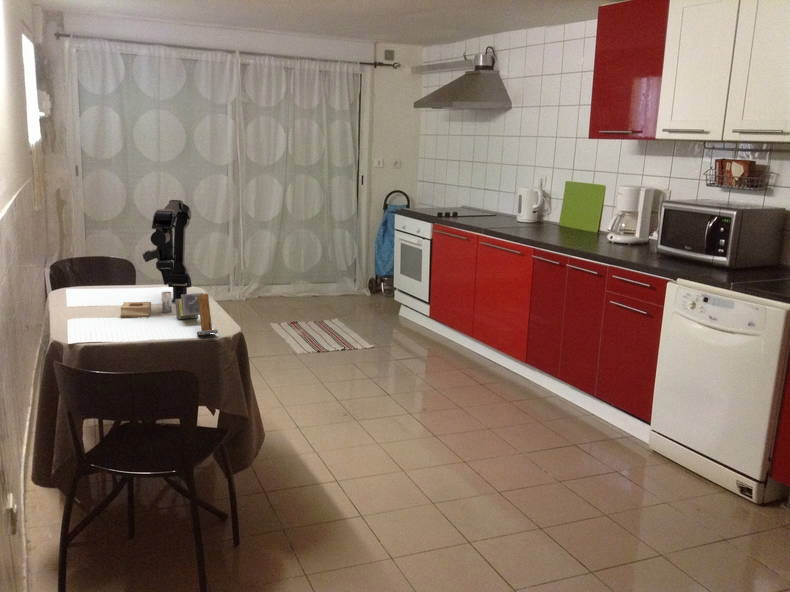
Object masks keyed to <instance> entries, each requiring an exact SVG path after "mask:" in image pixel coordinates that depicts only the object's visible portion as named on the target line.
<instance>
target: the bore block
mask: <svg viewBox="0 0 790 592" xmlns="http://www.w3.org/2000/svg"><path fill="white" fill-rule="evenodd" d="M150 313H151V314H152V302H151V301H135V302H134V301H126V302H125V301H124V302H123V303H122V305H121V307H120V318H121V319H142V318H141V317H149V318H150V316H151V314H150ZM138 317H140V318H138Z"/></svg>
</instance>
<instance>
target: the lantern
mask: <svg viewBox="0 0 790 592" xmlns="http://www.w3.org/2000/svg"><path fill="white" fill-rule="evenodd" d="M209 298H210V297H209V294H208V293H203V292H201V293H200V292H199V293H197V292H196V293H187V294H182V295H181V299H175V302H174V304H175V313H176V320H177V319H179V320H187V319H189V318H191V319H198V318H200V327H201V330H200V331H197V332H196V336H197V335H200V336H202V335H201V334H210V333H215V334H214V335H217V334H218V333H219V330H218V329H213V323H212V315H211V308H210V307H211V306H210V301H209Z"/></svg>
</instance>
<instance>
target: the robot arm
mask: <svg viewBox="0 0 790 592" xmlns="http://www.w3.org/2000/svg"><path fill="white" fill-rule="evenodd" d="M191 219H192V211H191V208H190V207H189V206H188V205H186V204H185V203H184V201H183V200H182V199H181V200H180V199H170V200H169V201H168V203H167V204H166V206H165V207H164V208H161V209H157V210H156V211H155V212H154V213H153V217H152V223H151V229H152V230H155V231H154V232H153V233H152V234H151V235H150V243H151V244H152V245H154V246H156V248H155V249H152V250H150V249H149V250H147V251H145V252H143V253H142V258H143V259H144V262H145V263H149V262H150V261H152V260H153V261H154V260H155V259H156V260H157V261H156V262H155V268H156V270H157V271H159V272H160V274H161V277H162V280H163V285H167V286H168V288H172V297H171V301H172V303H175V299H181V295H182V294H188V289H189V288H192V278H191V275H190V273H189V269H188V267H187V265H186V264H185V261H186V259H185V254H186V229H187V228H188V227H189V225H190V223H191V221H190V220H191Z"/></svg>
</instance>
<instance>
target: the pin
mask: <svg viewBox="0 0 790 592" xmlns="http://www.w3.org/2000/svg"><path fill="white" fill-rule="evenodd" d="M172 303H173V302H172V292H171V291H162V292H161V313H162V312H163V313H162V314H171V313H172V312H173V310H172Z"/></svg>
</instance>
